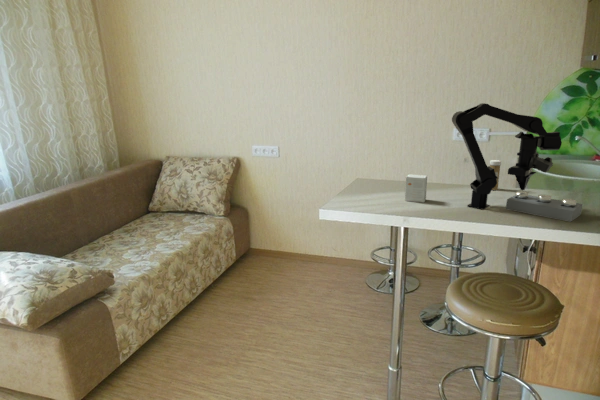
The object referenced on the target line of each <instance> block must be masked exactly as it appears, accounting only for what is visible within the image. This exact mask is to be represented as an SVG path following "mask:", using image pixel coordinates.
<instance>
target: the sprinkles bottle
mask: <svg viewBox="0 0 600 400" xmlns="http://www.w3.org/2000/svg"><path fill="white" fill-rule="evenodd" d="M501 165H502V161H501V160H498V159H490V160H489V166H490V167H492V168H493V169H494V170H495V175H496V176H497V177H498V179H497V184H496V186H495V187H494V188H493V189H492V190H491V191H497V190H499V181H500V172H501Z"/></svg>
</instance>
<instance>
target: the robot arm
mask: <svg viewBox="0 0 600 400" xmlns="http://www.w3.org/2000/svg"><path fill="white" fill-rule="evenodd" d="M483 116H488V117H491V118H494V119H497V120H501V121H504V122H507V123H510V124H512V125H514V126H515V127H517V128H519V129H520V130H521V131H519V132H518V133H517V134H516V135H515V136H514V137H515V138H517V139H520V144H519V150H518V152H516V156H518V158H517V159H518V160H517V162H516V163H515V165H513V166H510V167H509V168H508V169H507V175H511V176H515V178H516V182H517V183H518V186H519V188H520V190H521V191H525V190H526V188H527V186H528V183H529V181H530V178H531V177H532V176H533V175H535V174H536V173H537V171H533V169H536V170H538V171H541V172H543V173H547V172H550V170H551V168H553V166H554V165H553V164H554V163H553V158H552V157H550V156H547V157H545V158H543V157H539V156H540V155H539V153H538V152H537V150H538V148H539V149H540V151H559V150H560V148H561V147H562V138H561V132H560V131H552V132H548V131H547V130H546V129H545V127H544V126H543V124H544V123H543V119H542V118H540V117H538V116H531V115H525V114H517V113H515V112H511V111H508V110H505V109H502V108H499V107H495V106H493V105H490V104H488V103H486V102H485V103H484V102H483V103H479V104H477V105H476V106H473V107H469V108H467V109H465V110H464V111H456V112H455V113H454V114H453V115H452V117H451V122H452V124H453V126H454V127H455V128H456V130H457V131H458V133H459V134H460V135H461V136H462V139H463V141H464V144H465V146H466V149H467V151H468V154H469V156H470V158H471V161H472V164H473V165H474V173H475V180H473V181H472V182H470V183H469V187H470V188H471V190H472V191H471V201H470V203H469V204H467V205H466V206H467V207H470V208H475V209H480V210H485V209H486V208H489V207H490V204H488V203H487V202H488V195H490V194H491V192H492V191H493V190H492V189H493V188H494V187H495V186H496V184H497V179H498V177H497V176H496V175H495V170H494V169H493V168H492V167H490V165H488V166H487V163H486V160H485V158H484V155H483V153H482V150H481V148H480V146H479V144H478V143H479V142H478V141H477V138H476V135H475V133H474V124H473V122H474V121H477V120H479V118H481V117H483ZM523 131H524V132H528V133H524V132H523ZM534 134H535V135H534Z"/></svg>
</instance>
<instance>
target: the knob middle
mask: <svg viewBox="0 0 600 400" xmlns="http://www.w3.org/2000/svg"><path fill="white" fill-rule="evenodd" d="M537 197H538V199H537V200H538V201H540V202H542V203H548V202H551V199H552V195H549V194H538V195H537Z"/></svg>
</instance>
